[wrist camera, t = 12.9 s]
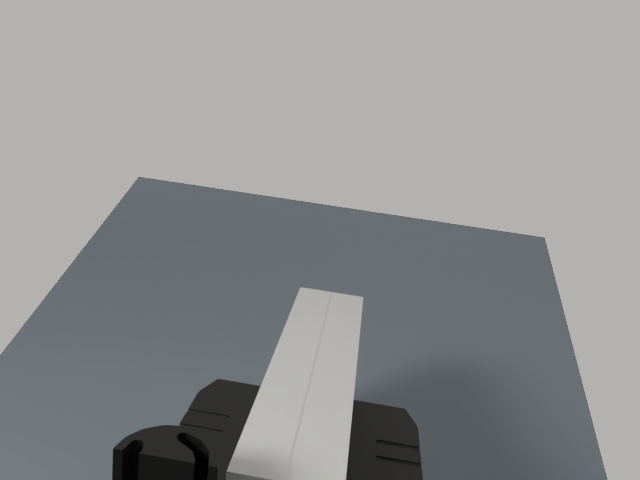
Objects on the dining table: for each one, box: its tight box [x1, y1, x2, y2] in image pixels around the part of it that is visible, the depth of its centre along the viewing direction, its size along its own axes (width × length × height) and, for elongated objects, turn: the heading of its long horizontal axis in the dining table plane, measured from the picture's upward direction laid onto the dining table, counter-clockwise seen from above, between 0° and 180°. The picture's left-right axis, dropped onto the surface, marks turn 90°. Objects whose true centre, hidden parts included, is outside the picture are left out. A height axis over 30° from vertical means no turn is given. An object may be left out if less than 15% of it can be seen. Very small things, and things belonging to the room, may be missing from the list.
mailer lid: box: [0, 177, 607, 480], centre depth 14 cm, size 22×16×1 cm
